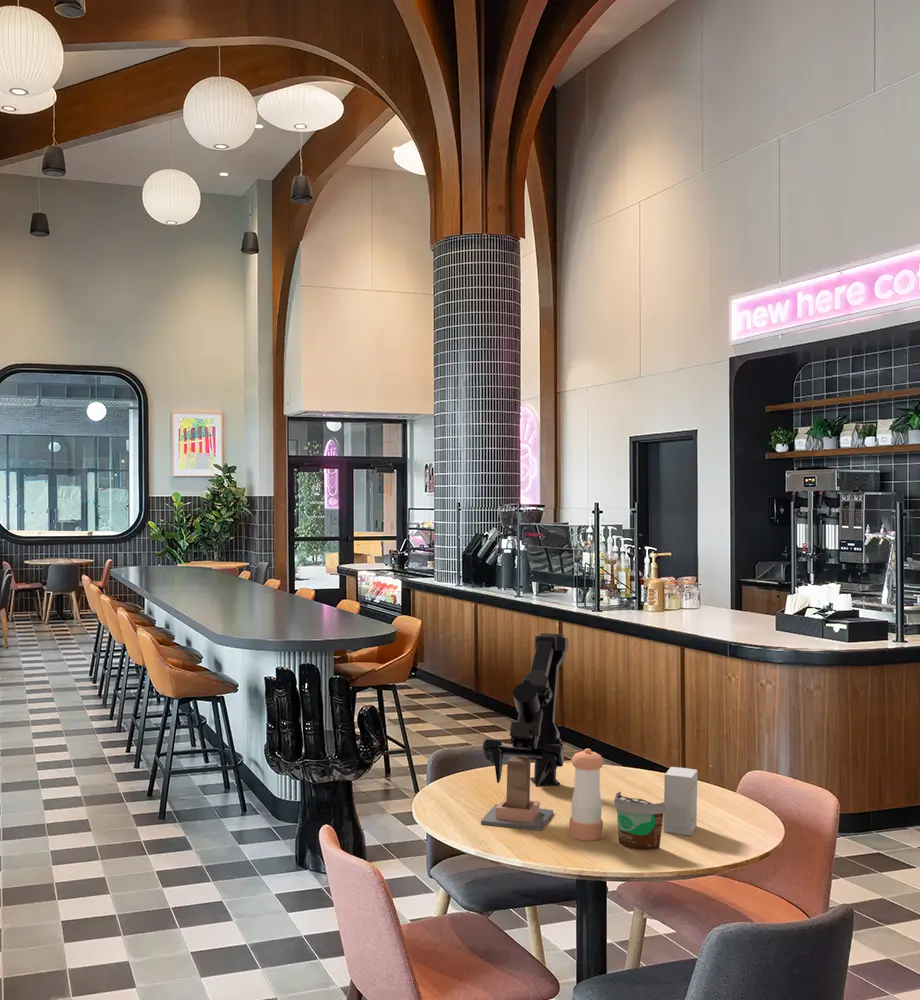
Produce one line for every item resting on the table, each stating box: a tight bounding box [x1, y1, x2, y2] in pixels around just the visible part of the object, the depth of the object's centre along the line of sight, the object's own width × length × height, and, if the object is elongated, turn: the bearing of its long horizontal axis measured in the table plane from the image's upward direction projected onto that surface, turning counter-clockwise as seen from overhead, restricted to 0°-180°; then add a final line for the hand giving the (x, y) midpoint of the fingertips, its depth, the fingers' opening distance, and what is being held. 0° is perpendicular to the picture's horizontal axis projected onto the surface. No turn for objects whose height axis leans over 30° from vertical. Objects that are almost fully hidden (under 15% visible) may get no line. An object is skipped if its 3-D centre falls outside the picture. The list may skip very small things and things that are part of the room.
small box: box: [663, 766, 698, 836], centre depth 239 cm, size 8×6×13 cm
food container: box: [613, 791, 666, 851], centre depth 226 cm, size 12×6×10 cm, turn 47°
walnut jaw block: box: [506, 755, 532, 810], centre depth 244 cm, size 4×4×13 cm
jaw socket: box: [480, 797, 554, 832], centre depth 244 cm, size 14×14×3 cm
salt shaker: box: [568, 748, 604, 842], centre depth 232 cm, size 7×7×19 cm
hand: (517, 784), depth 242 cm, fingers open, 9 cm apart
